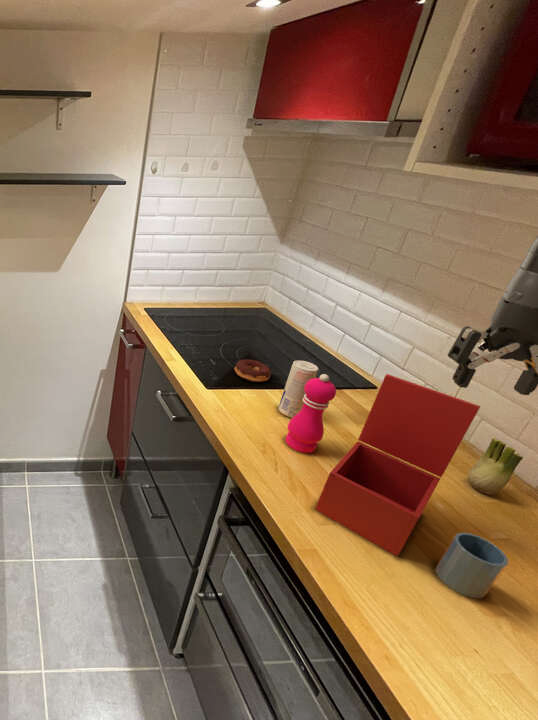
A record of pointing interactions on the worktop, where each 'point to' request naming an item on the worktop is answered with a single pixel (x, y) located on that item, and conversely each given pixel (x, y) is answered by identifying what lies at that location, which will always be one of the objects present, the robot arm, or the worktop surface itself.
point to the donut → (252, 370)
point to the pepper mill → (310, 415)
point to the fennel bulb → (494, 468)
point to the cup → (471, 565)
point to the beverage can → (296, 387)
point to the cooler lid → (417, 424)
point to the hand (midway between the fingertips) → (489, 388)
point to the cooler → (376, 496)
